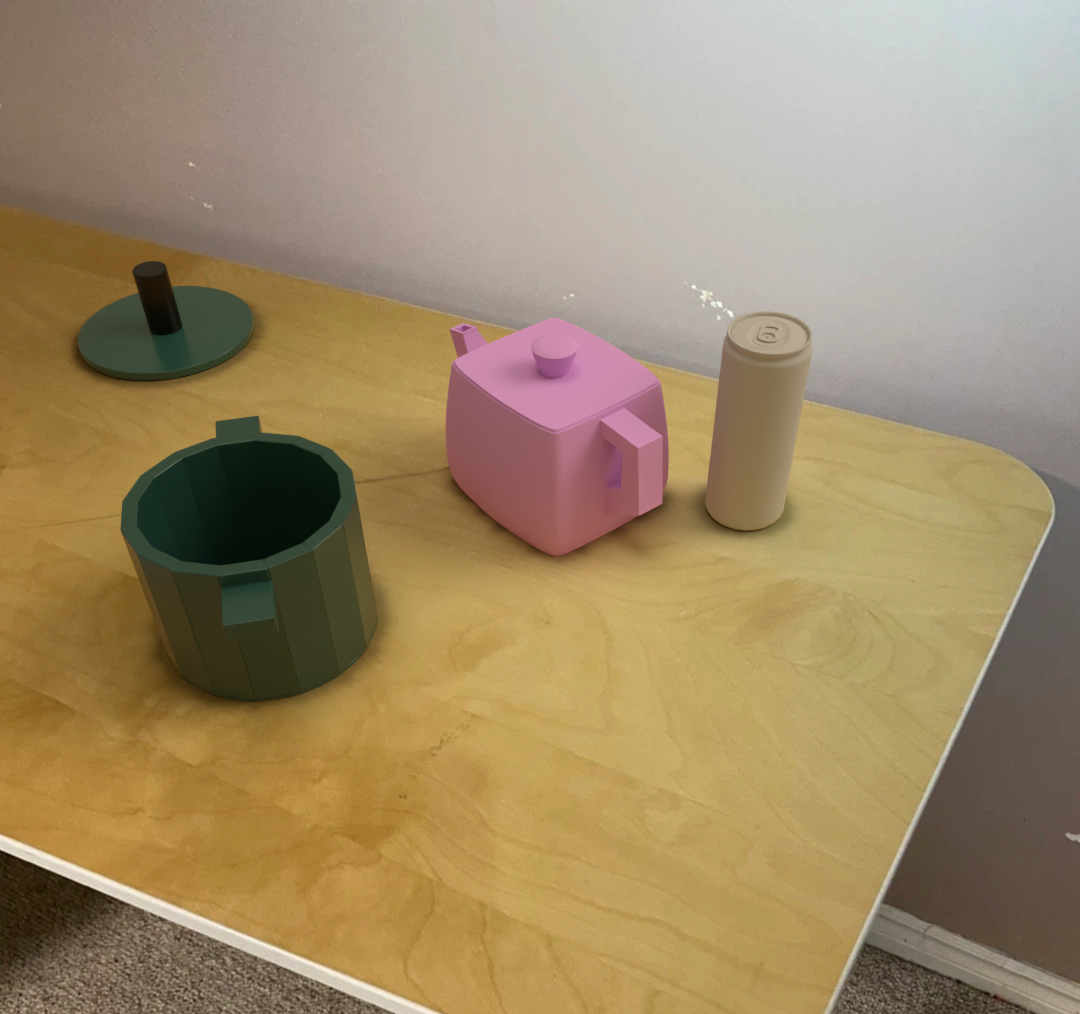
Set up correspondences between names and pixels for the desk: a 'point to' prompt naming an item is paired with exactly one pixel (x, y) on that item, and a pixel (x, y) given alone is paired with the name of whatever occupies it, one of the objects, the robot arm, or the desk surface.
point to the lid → (165, 329)
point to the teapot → (555, 433)
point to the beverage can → (757, 418)
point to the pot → (253, 562)
